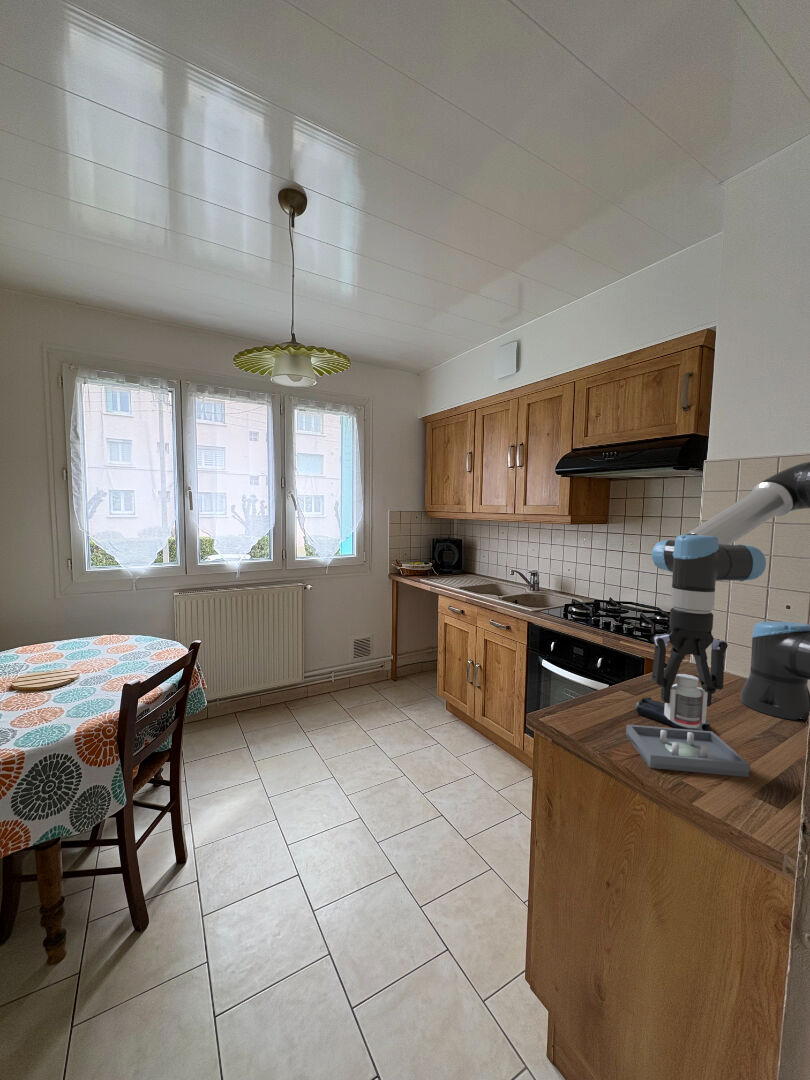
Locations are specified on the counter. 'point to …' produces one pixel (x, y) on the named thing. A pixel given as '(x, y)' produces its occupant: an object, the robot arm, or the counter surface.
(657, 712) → the electronic device
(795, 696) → the robot arm
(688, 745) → the tray
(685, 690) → the pill bottle
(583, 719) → the counter surface
